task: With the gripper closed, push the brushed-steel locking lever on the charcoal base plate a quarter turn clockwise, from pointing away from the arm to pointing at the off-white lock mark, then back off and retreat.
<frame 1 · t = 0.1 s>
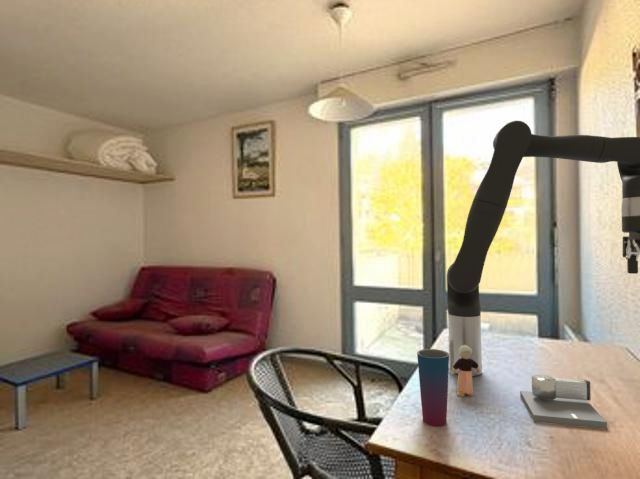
grandmother figurine: (466, 395, 99), on the table
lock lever: (560, 388, 90), point 4 cm above the table, hinge at 0.0°
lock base: (559, 411, 88), on the table
cup: (434, 421, 85), on the table
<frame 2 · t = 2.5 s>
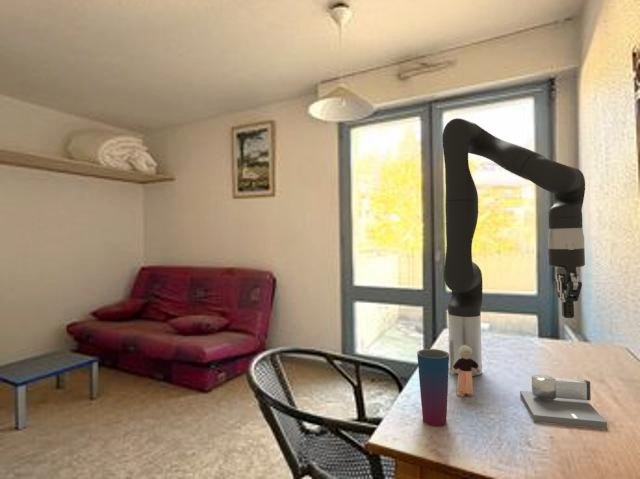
hand: (568, 317, 94), 20 cm above the table, fingers closed
nothing on the table moved.
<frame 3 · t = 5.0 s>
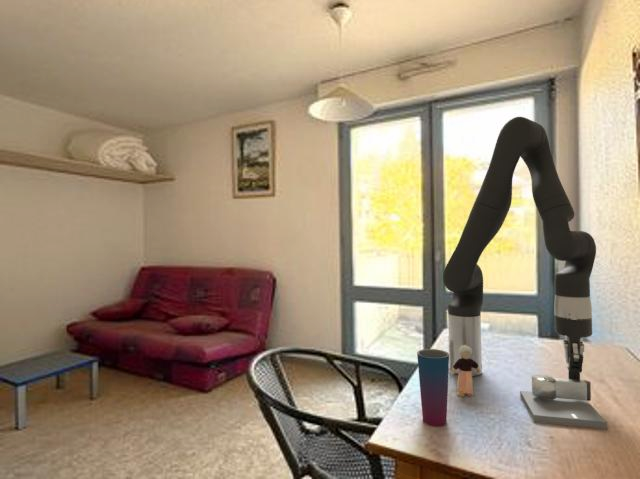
hand: (574, 386, 92), 4 cm above the table, fingers closed
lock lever: (560, 388, 90), point 4 cm above the table, hinge at -1.2°, touching gripper
everything else where it was.
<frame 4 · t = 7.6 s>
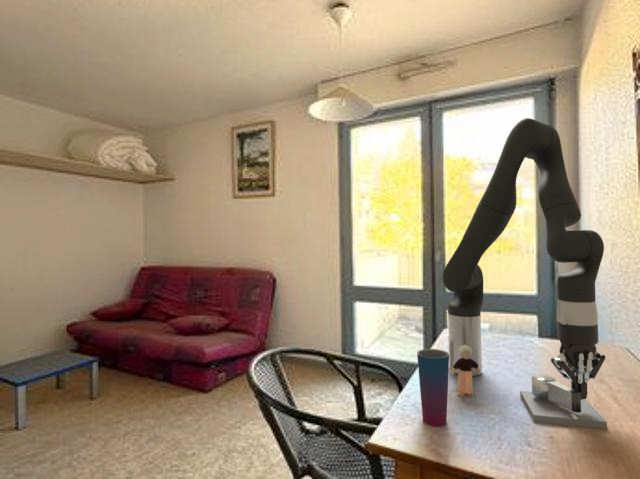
hand: (579, 398, 85), 4 cm above the table, fingers closed
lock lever: (556, 392, 88), point 4 cm above the table, hinge at -59.8°, touching gripper
everything else where it was.
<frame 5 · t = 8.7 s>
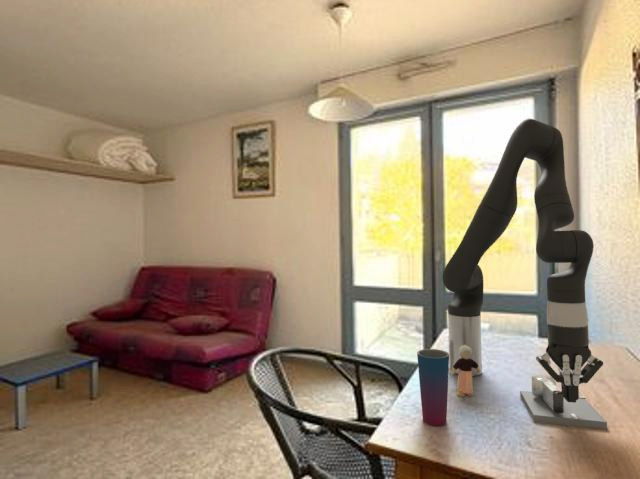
hand: (570, 400, 84), 4 cm above the table, fingers closed
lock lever: (549, 392, 88), point 4 cm above the table, hinge at -85.4°, touching gripper
everything else where it was.
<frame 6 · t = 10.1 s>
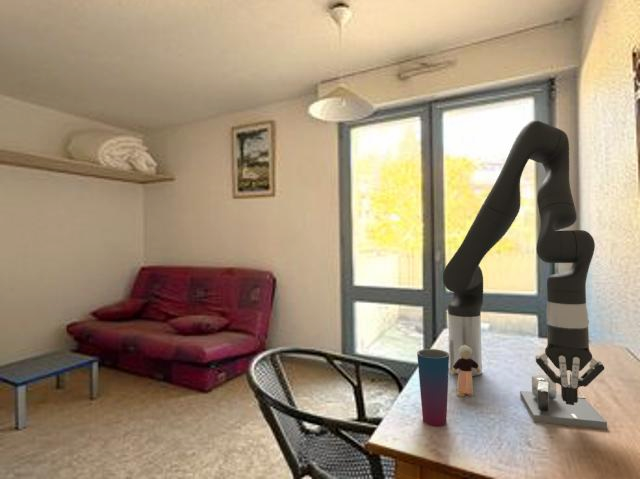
hand: (569, 403, 82), 4 cm above the table, fingers closed
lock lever: (543, 392, 88), point 4 cm above the table, hinge at -104.7°
everything else where it was.
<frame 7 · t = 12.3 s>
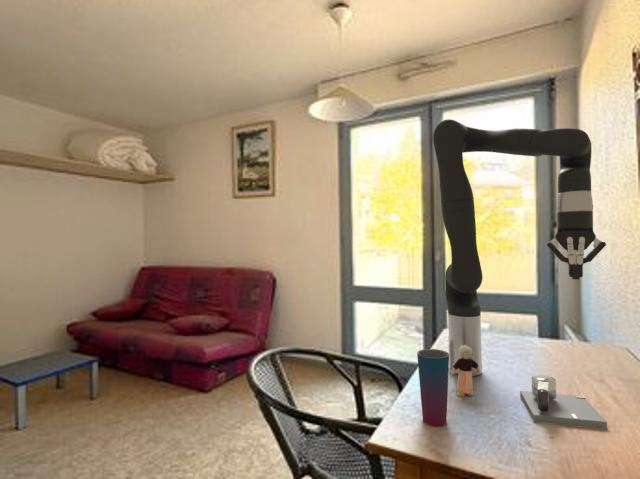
hand: (575, 279, 97), 29 cm above the table, fingers closed
nothing on the table moved.
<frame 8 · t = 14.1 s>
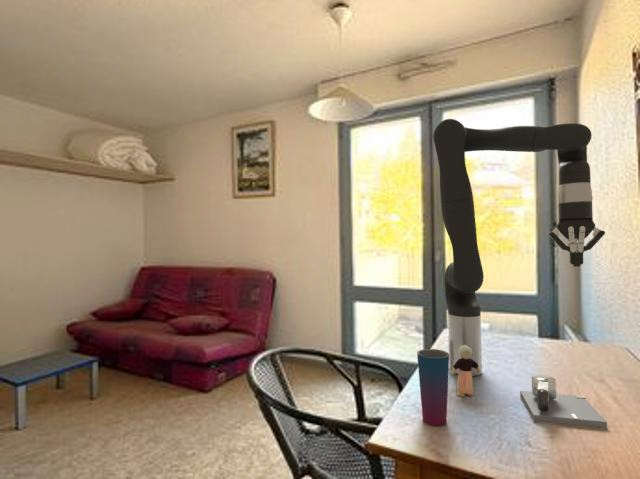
hand: (576, 266, 102), 32 cm above the table, fingers closed
nothing on the table moved.
at the end: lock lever at -105° (first picture: +0°); the gripper is holding nothing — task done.
